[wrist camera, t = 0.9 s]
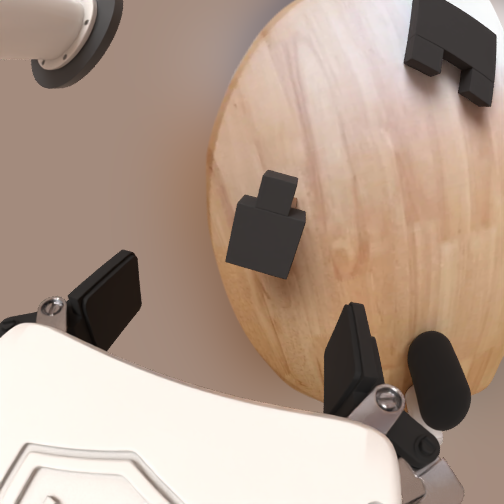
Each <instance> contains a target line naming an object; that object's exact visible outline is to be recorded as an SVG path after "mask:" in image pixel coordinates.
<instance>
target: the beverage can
mask: <svg viewBox="0 0 504 504" xmlns="http://www.w3.org/2000/svg"><path fill="white" fill-rule="evenodd" d="M405 398H406V403H407V408H408V414H409V415H410V416H411V417H412V418H414V419H415V420H416V421H417V422H418V423H420V424H421V425H422V426H423V427H424V428H426V429H427V430H428V431H429V432H430V433H432V434H433V435H434V436H435V437H436V438H437V440H438V442H439V445H440V444H441V443H442V442H443V440H442V438H443V435H442V431H437V430H434V429H432V428H430V427H428V426H427V425H426V424H425V422H424V421H423V419H422V417H421V415H420V411H419V406H418V402H417V397H416V393H415V389H414V385H412V386H411V387H410V388H409V389H408V390H407V392H406V394H405Z"/></svg>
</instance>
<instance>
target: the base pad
mask: <svg viewBox="0 0 504 504" xmlns="http://www.w3.org/2000/svg"><path fill="white" fill-rule="evenodd" d="M443 59H444V60H446V61H448V62H449V63H451V64H452V65H454V66H456V67H457V68H459V69H460V70H462V71H461V78H460V84H459V90H458V93H459V94H461V95H462V96H464V97H466V98H467V99H469V100H470V101H472V102H473V103H474V104H476V105H477V106H479V107H491V103H492V96H493V88H494V79H495V68H496V34H494V33H493V32H492V31H491V30H489V29H488V28H487V27H485V26H484V25H483V24H481V23H480V22H478V21H477V20H476V19H474V18H473V17H471V16H470V15H468V14H467V13H465V12H464V11H462V10H461V9H459V8H457V7H456V6H454V5H453V4H451V3H449V2H447V1H446V0H413V3H412V12H411V20H410V27H409V34H408V41H407V47H406V53H405V58H404V64H406V65H408V66H410V67H412V68H414V69H416V70H418V71H420V72H422V73H424V74H426V75H428V76H430V77H431V76H434V75H437V74H440V73H441V67H442V60H443Z"/></svg>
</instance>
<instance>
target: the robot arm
mask: <svg viewBox="0 0 504 504" xmlns="http://www.w3.org/2000/svg"><path fill="white" fill-rule="evenodd" d="M96 16H97V2H96V0H0V60H5V59H38V62H39V64H40V66H41V67H42V68H44V69H47V70H56V69H59V68H61V67H63V66H65V65H66V64H68V63H69V62H70V61H71V60H72V59H73V58H74V57H75V56H76V55H77V54H78V52H79V51H80V50H81V48H82V47H83V46H84V44H85V42H86V41H87V39H88V37H89V35H90V33H91V31H92V29H93V26H94V23H95V20H96ZM68 298H69V300H68V301H67V302H66V301H65V299H63V298H62V297H57V296H56V297H49V298H47V299H45V300H44V301H42V302H41V303H40V305H39V307H38V311H37V312H35V313H29V314H24V315H18V316H13V317H9V318H6V319H4V320H3V321H2V322H1V323H0V504H401V501H402V499H401V495H402V498H403V501H402V504H461V502H462V501H463V497H464V489H463V486H462V485H461V483H460V482H459V480H458V479H457V477H456V476H455V474H454V472H453V471H452V469H451V468H450V466H449V465H448V463H447V462H446V461H445V459H444V458H442V459H440V457H439V456H438V455H439V453H440V445H439V442H438V440H437V438H436V437H435V436H434V435H433V434H432V433H430V432H429V431H428V430H427V429H426V428H424V427H423V426H422V425H421V424H420V423H418V422H417V421H416V420H415V419H414V418H412V417H411V416H410V415H409V414H408V413H406V412H405V411H404V408H405V404H406V400H405V397H404V395H403V393H402V392H401V391H400V390H399V389H398V388H397V387H395V386H393V385H390V384H385V383H384V378H383V372H382V367H381V362H380V357H379V352H378V348H377V343H376V339H375V338H374V337H372V336H371V334H370V330H369V325H368V321H367V316H366V312H365V308H364V305H363V304H359V303H353V302H350V303H349V305H345V306H344V308H343V310H342V313H341V315H340V317H339V320H338V322H337V324H336V327H335V329H334V331H333V334H332V336H331V338H330V340H329V342H328V345H327V347H326V349H325V353H324V413H318V412H312V411H306V410H300V409H295V408H289V407H284V406H279V405H273V404H269V403H264V402H259V401H255V400H250V399H246V398H242V397H237V396H233V395H229V394H226V393H222V392H218V391H215V390H211V389H208V388H204V387H201V386H198V385H194V384H191V383H188V382H185V381H182V380H179V379H176V378H173V377H170V376H167V375H164V374H161V373H158V372H156V371H153V370H150V369H148V368H145V367H142V366H140V365H138V364H135V363H132V362H130V361H127V360H125V359H123V358H120V357H118V356H116V355H113V354H111V353H109V352H107V350H108V349H109V348H110V346H111V345H112V344H113V343H114V341H115V340H116V339H117V337H118V336H119V335H120V334H121V332H122V331H123V330H124V328H125V327H126V326H127V325H128V323H129V322H130V321H131V320H132V318H133V317H134V316H135V315H136V313H137V312H138V311H139V310H140V307H141V304H142V302H141V293H140V282H139V271H138V259H137V257H136V256H135V254H134V253H133V252H130V251H126V250H121V251H120V252H119V253H117V254H116V255H115V256H114V257H112V258H111V259H110V260H109V261H107V262H106V263H105V264H104V265H102V266H101V267H100V268H99V269H98V270H96V271H95V272H94V273H93V274H92V275H91V276H89V277H88V278H87V279H86V280H85V281H83V282H82V283H81V284H80V285H79V286H78V287H77V288H75V289H74V290H73V291H72V292H71V293H70V294H69V295H68Z"/></svg>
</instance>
